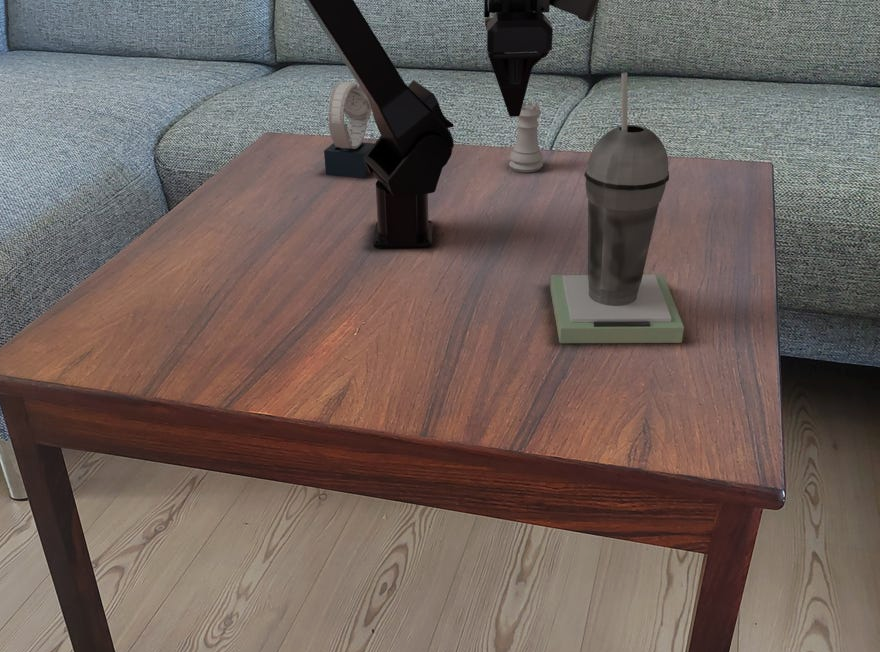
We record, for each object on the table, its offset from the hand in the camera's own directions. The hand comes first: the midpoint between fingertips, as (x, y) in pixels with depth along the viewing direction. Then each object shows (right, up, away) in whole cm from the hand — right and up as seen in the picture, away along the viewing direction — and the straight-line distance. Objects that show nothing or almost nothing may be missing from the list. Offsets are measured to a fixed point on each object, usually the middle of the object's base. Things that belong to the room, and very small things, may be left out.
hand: (512, 103), depth 101 cm
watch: (-19, 0, +23) cm, 29 cm away
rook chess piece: (+4, 0, +21) cm, 22 cm away
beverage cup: (+8, -23, -13) cm, 28 cm away
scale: (+8, -25, -12) cm, 29 cm away
